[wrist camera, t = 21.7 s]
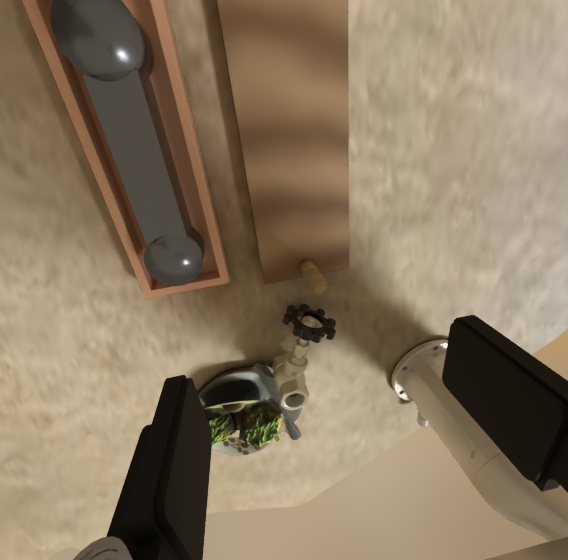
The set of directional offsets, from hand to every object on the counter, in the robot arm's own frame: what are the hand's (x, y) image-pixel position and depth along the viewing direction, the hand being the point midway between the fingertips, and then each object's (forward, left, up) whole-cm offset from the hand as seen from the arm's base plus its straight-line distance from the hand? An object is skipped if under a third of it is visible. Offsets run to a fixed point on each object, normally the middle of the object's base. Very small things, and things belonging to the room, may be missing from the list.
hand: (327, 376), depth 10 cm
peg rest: (+6, -4, -22) cm, 24 cm away
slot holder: (+6, +9, -22) cm, 25 cm away
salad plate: (-28, +7, -23) cm, 37 cm away
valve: (-18, -2, -23) cm, 29 cm away
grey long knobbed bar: (+6, +9, -22) cm, 24 cm away
